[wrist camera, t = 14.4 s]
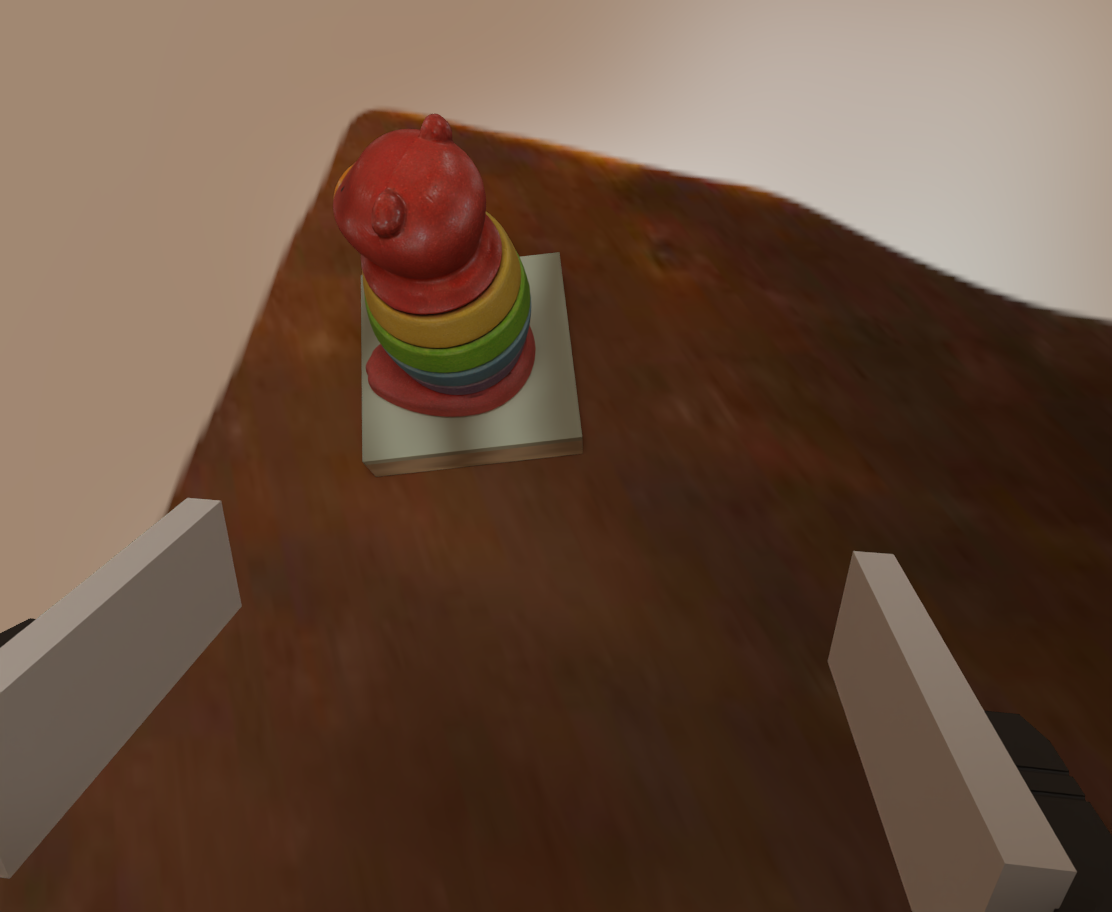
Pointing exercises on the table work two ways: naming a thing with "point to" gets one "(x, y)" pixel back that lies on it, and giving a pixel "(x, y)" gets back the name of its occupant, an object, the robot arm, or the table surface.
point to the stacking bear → (435, 276)
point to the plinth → (502, 433)
